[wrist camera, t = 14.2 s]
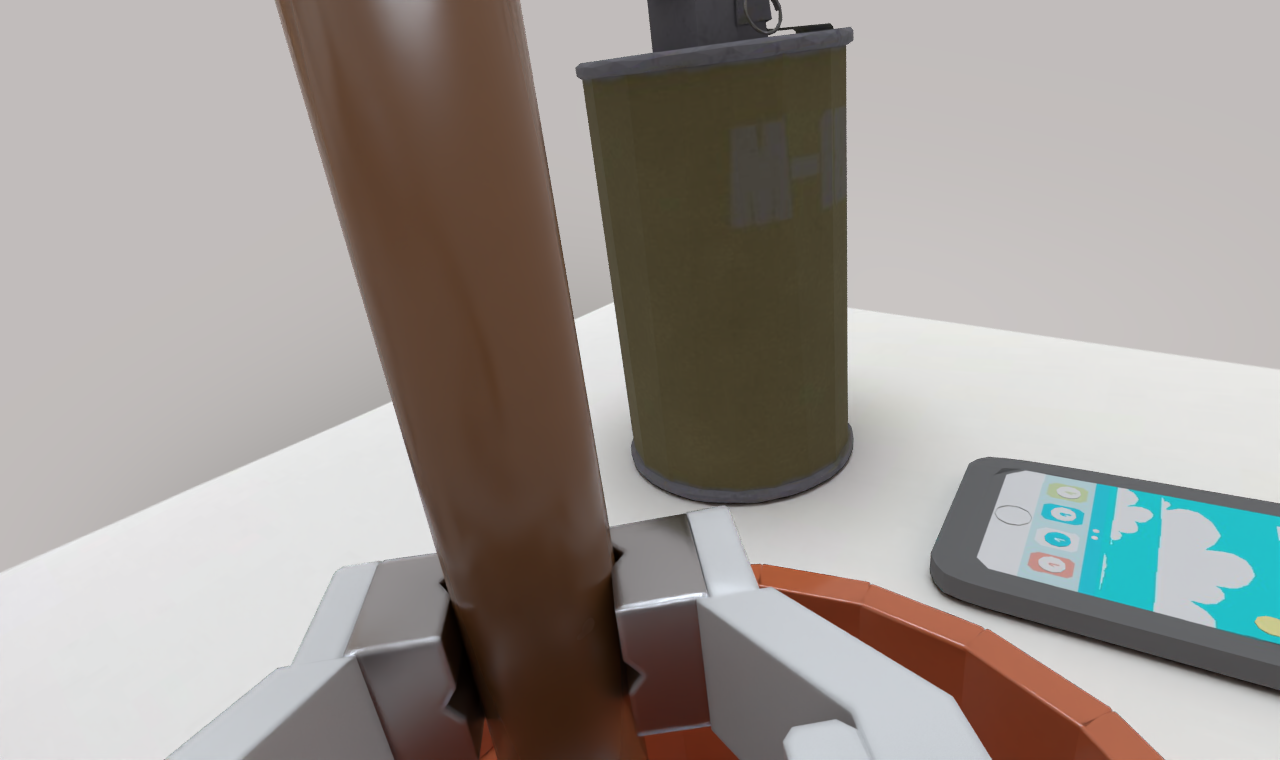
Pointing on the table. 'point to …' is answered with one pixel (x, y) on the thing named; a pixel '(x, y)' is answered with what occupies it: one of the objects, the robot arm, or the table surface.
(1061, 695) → the bowl
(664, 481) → the canister
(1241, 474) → the table surface
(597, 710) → the peg on round base
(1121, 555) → the smartphone
